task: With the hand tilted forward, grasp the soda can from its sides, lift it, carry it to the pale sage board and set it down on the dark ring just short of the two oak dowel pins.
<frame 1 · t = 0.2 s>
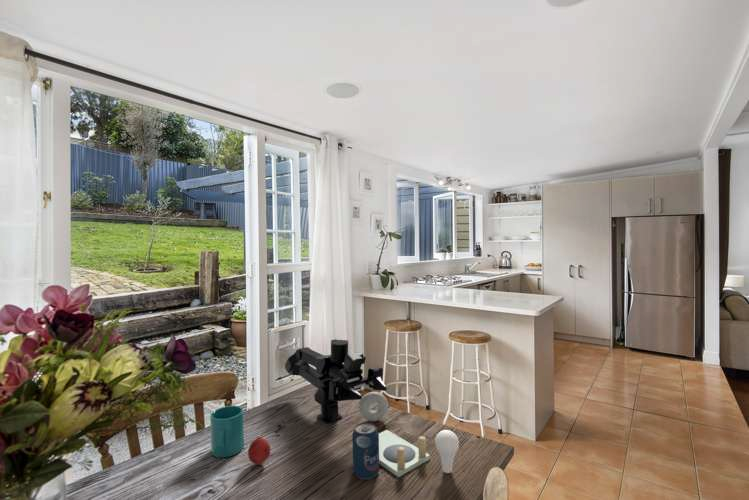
hand: (373, 393, 108), 17 cm above the table, tool horizontal, fingers open, 9 cm apart
soda can: (366, 473, 98), on the table
onion: (259, 465, 102), on the table
cup: (226, 453, 108), on the table
board: (392, 453, 106), on the table
donut: (373, 421, 125), on the table
lightbulb: (447, 473, 97), on the table
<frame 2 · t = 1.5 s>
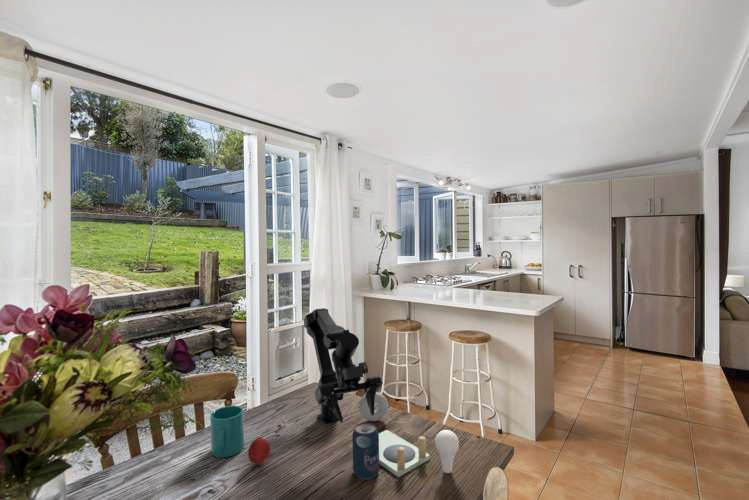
hand: (357, 418, 103), 12 cm above the table, tool tilted 45°, fingers open, 9 cm apart
nothing on the table moved.
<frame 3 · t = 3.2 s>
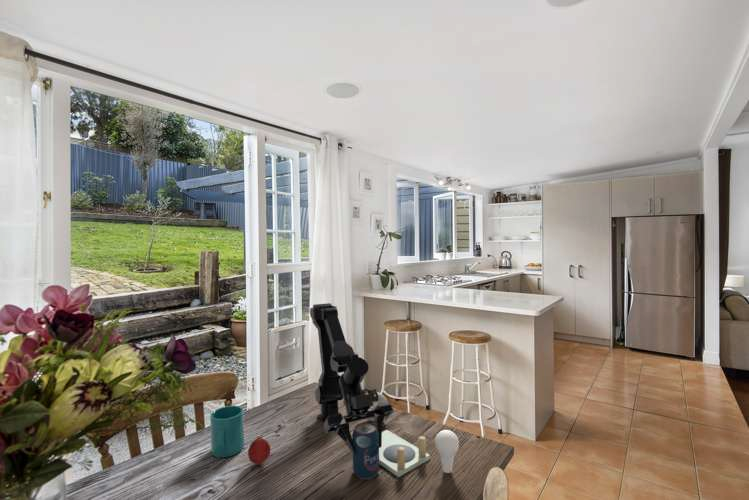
hand: (367, 450, 96), 7 cm above the table, tool tilted 45°, fingers closed on soda can, 7 cm apart
soda can: (366, 473, 98), on the table, touching gripper
everything else where it was.
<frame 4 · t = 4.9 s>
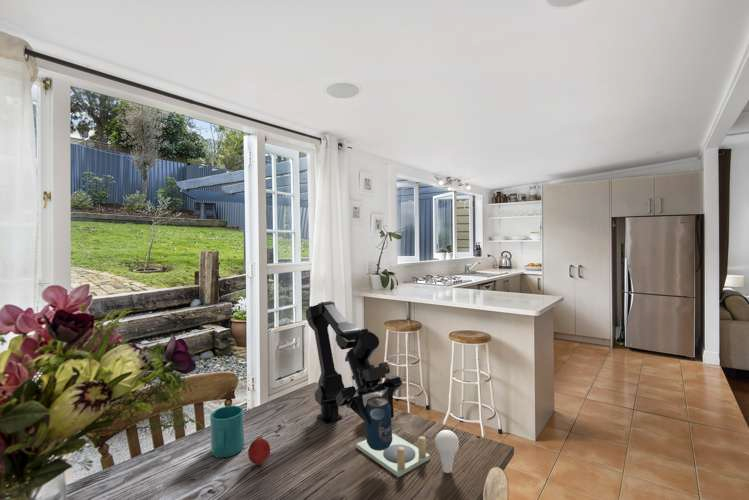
hand: (381, 421, 98), 13 cm above the table, tool tilted 45°, fingers closed on soda can, 7 cm apart
soda can: (379, 445, 100), point 6 cm above the table, touching gripper
everything else where it was.
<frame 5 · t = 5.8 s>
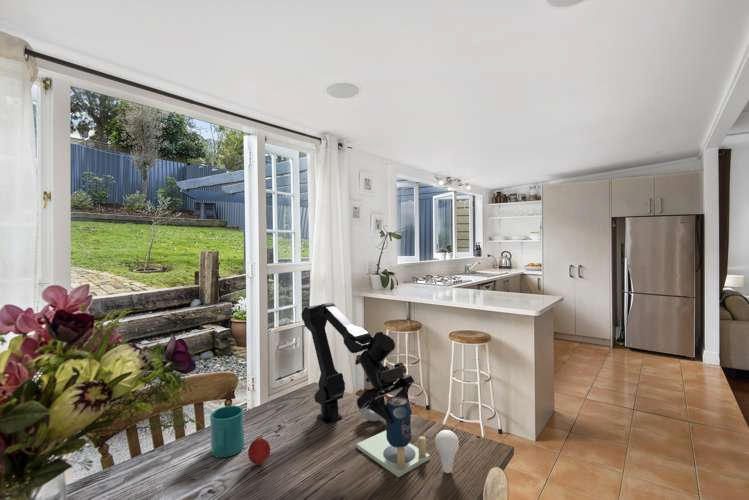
hand: (401, 419, 103), 11 cm above the table, tool tilted 45°, fingers closed on soda can, 7 cm apart
soda can: (399, 442, 104), point 4 cm above the table, touching gripper
everything else where it was.
when the fingers open (9 cm above the table, at t = 6.7 s): soda can stays where it is, resting on board.
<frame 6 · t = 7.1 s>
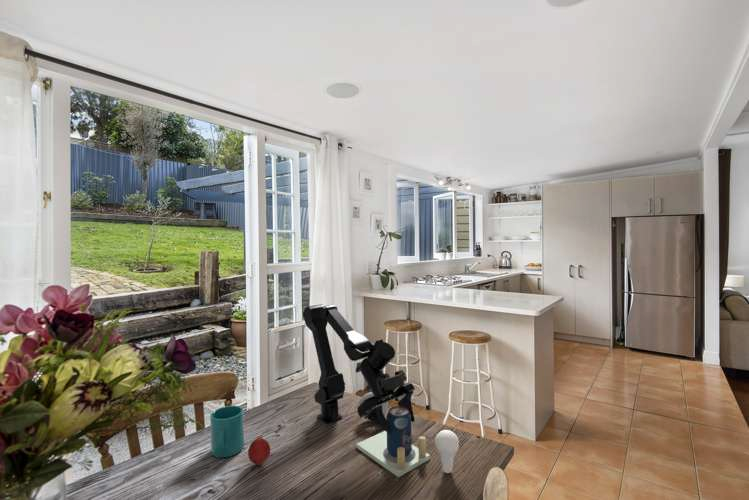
hand: (402, 427, 103), 9 cm above the table, tool tilted 45°, fingers open, 9 cm apart
soda can: (399, 453, 104), point 1 cm above the table, touching board
everything else where it was.
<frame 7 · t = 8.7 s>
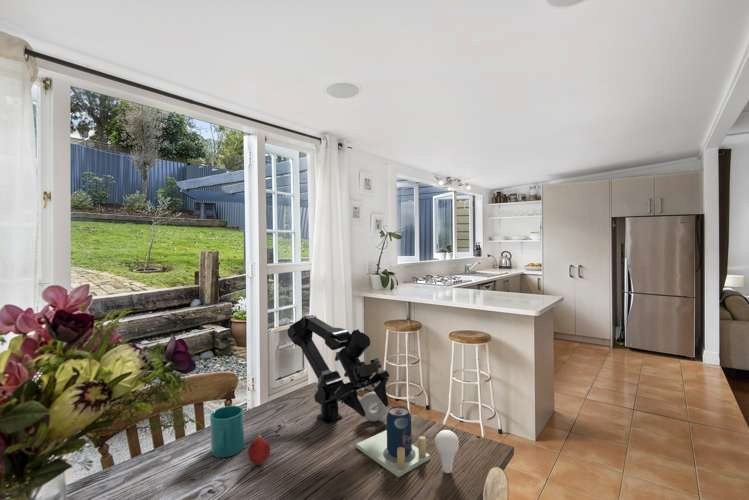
hand: (376, 411, 110), 10 cm above the table, tool tilted 45°, fingers open, 9 cm apart
nothing on the table moved.
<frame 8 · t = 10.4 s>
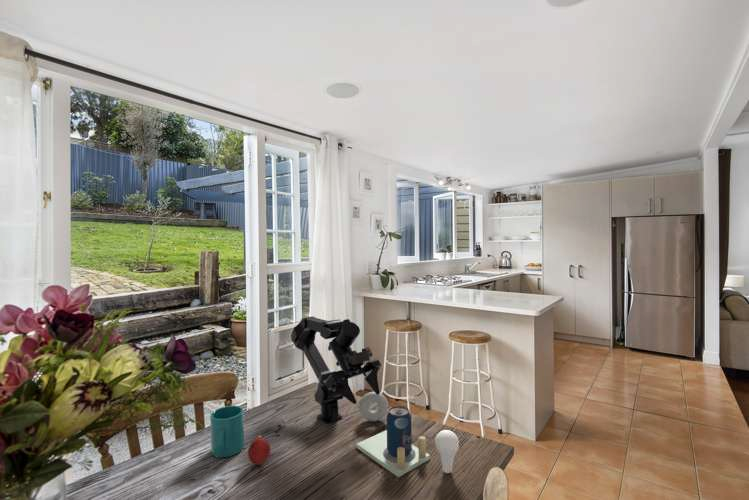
hand: (367, 398, 111), 14 cm above the table, tool tilted 45°, fingers open, 9 cm apart
nothing on the table moved.
at the end: soda can inside the target area (0.3 cm from its centre), point 1.1 cm above the table; soda can tilted 0°; the gripper is holding nothing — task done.
